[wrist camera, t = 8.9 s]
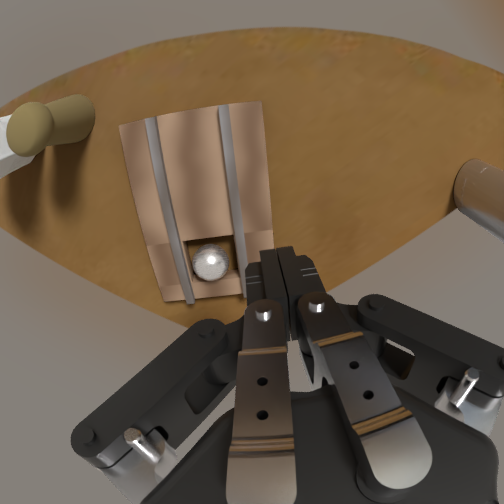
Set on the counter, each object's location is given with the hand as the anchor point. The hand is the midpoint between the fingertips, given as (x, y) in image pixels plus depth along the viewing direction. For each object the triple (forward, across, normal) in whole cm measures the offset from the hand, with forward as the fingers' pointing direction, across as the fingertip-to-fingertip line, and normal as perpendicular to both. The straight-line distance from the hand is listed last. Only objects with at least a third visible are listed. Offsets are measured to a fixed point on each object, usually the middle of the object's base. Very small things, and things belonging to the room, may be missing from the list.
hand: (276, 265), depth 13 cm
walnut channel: (+21, +6, +4) cm, 22 cm away
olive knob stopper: (+21, +20, -10) cm, 30 cm away
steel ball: (+19, +6, +10) cm, 22 cm away
